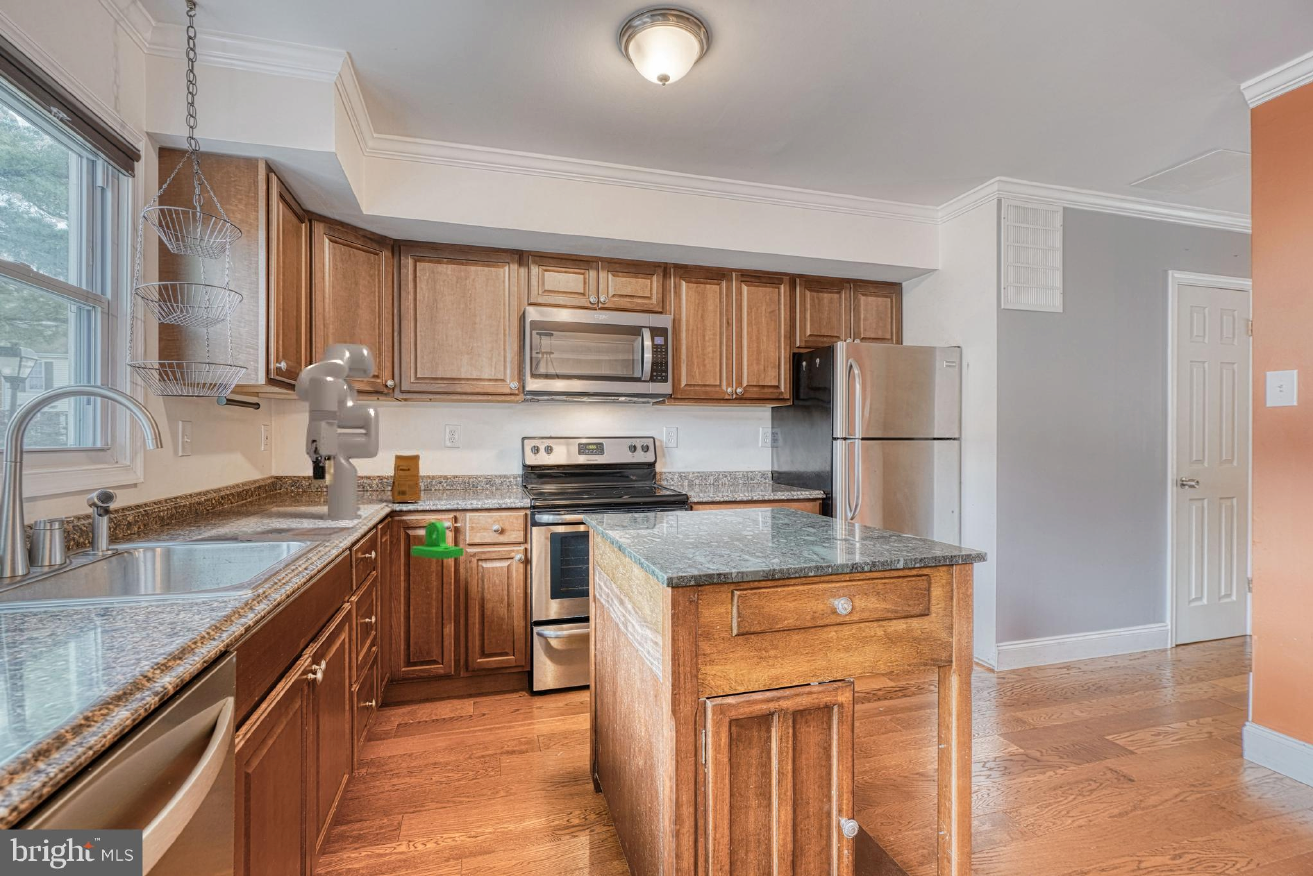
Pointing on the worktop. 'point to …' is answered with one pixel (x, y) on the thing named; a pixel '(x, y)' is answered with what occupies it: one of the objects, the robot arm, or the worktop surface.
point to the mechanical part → (436, 544)
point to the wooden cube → (326, 474)
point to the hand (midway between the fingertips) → (323, 478)
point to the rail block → (300, 534)
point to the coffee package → (406, 479)
